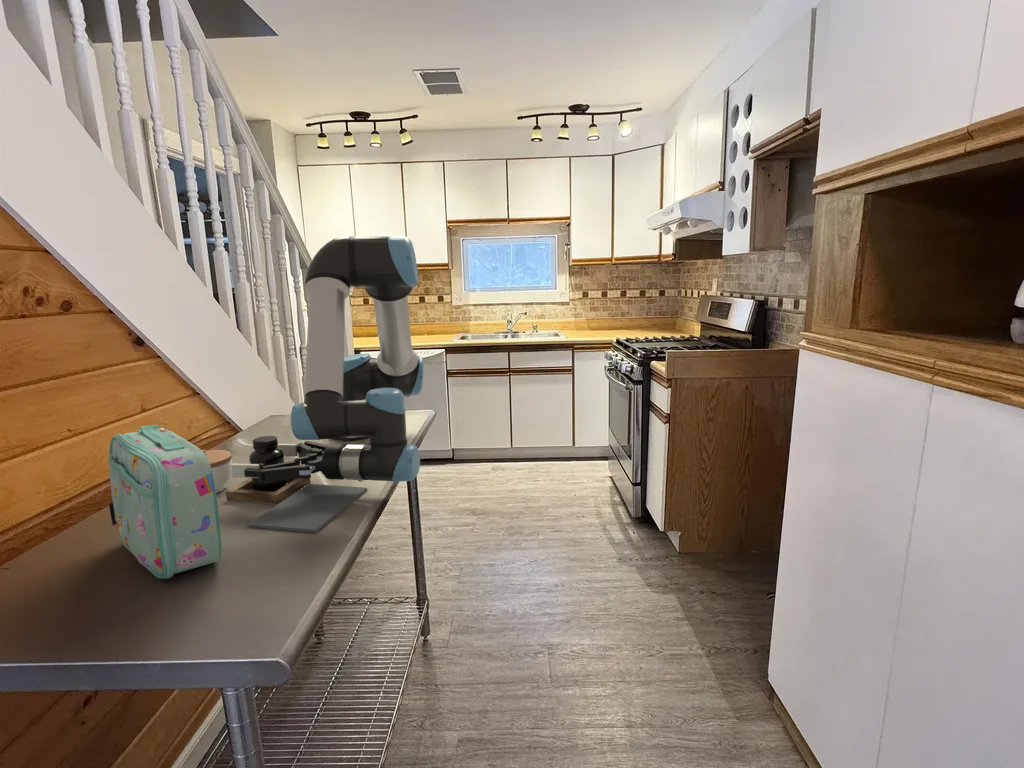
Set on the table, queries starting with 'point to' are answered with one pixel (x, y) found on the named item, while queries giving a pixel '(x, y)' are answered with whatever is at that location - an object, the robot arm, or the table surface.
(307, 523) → the slate mat
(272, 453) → the supplement bottle
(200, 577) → the table surface
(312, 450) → the robot arm
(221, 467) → the lidded jar
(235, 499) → the walnut collar
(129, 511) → the lunch box
